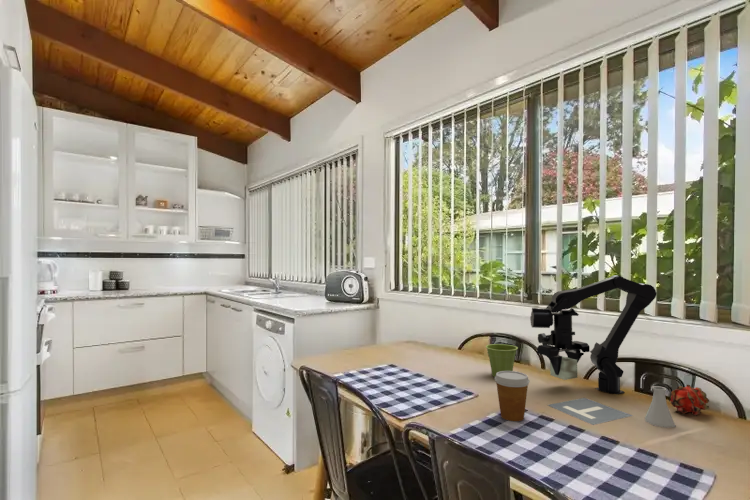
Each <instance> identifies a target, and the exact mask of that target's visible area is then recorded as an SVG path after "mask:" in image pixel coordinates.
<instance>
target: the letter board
mask: <svg viewBox="0 0 750 500" xmlns="http://www.w3.org/2000/svg"><path fill="white" fill-rule="evenodd" d="M547 406H548V407H550V408H553V409H554V410H556V411H559V412H562V413H564V414H566V415H569V416H571V417H574V418H576V419H578V420H581V421H583V422H585V423H587V424H590V425H593V426H594V425H598V424H603V423H607V422H611V421H617V420H620V419H625V418H630V417H634V415H633V414H630V413H627V412H625V411H622V410H619V409H617V408H613V407H610V406H608V405H606V404H603V403H600V402H598V401H595V400H592V399H591V398H590V399H589V398H587V397H581V398H575V399H571V400H565V401H561V402H556V403H550V404H547Z"/></svg>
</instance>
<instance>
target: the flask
mask: <svg viewBox="0 0 750 500" xmlns="http://www.w3.org/2000/svg"><path fill="white" fill-rule="evenodd" d="M651 389H652V390H653V395H652V400H651V403H650V404H649V408H648V410H647V412H646V415H645V417H644V421H645V422H646V423H648V424H650V425H651V426H655V427H660V428H666V429H667V428H677V427H676V425H675V422H674V421H675V420H674V419H673V416H672V414H671V411H670V409H669V407H668V403H667V399H666V392H667V388H666V387H663V386H659V385H654V386H653V385H652V388H651Z"/></svg>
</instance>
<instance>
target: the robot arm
mask: <svg viewBox="0 0 750 500" xmlns="http://www.w3.org/2000/svg"><path fill="white" fill-rule="evenodd" d="M616 289H618V290H620V291H623V292H625V293H627V295H626V298H625V305H624V307H623V308H622V311H621V313H620V314H619V315H618V318H617V319H616V321H615V323H614V324H613V326H612V328H611V329H610V331H609V333H608V335H607V336H606V338H605V340H603V342H601V343H598V342H595V344H594V346H593V348H592V349H591V350H590V345H589V344H588V343H587V342H583V341H578V340H574V341H573V336H575V335H576V331H573V316H574V317H575V316H577V317H579V315H580V314H579V313H578V312H577V311H576V310H575V309H574V308H573V307H575V306H577V305H578V304H580V303H581V302H582V301H584V300H586V299H589V298H592V297H595V296H598V295H600V294H601V295H602V294H604V293H607V292H609V291H613V290H616ZM657 293H658V292H657V290H656V288H655V287H654V286H652V285H651V284H648V283H641V282H635V281H632V280H630V279H627V278H625V277H623V276H621V275H611V276H610V277H607V278H604V279H601V280H599V281H597V282H596V281H595V282H593V283H590V284H587V285H585V286H582V287H581V286H580V287H579V288H573V289H565V290H559V291H556V292H554V293H553V294H552V297H551V301H550V302H549V303H548V304H547V306H546V308H537V307H532V308H531V313H530V318H529V319H530V326H531V328H535V329H539V328H540V329H550V327H552V326H553V329H551V331H550V334H546V333H538V335H537V341H538V343H539V344H541V345H538V346H537V347H536V350H537V351H536V354H537V355H538V354H539V355H542V356H545V357H547V358H548V359H549V363H550V362H551V364H552V367H553V369H554V372H555V374H556V375H559V372H560V367H561V362H562V356H563V355H560V353H562V352H564V353H565V354H566V357H568V358H572V359H575V360H577V364H578V363H579V361H580V360H581V358H582V356H584V354H585V353H589V352H590V353H591V354H590V361H591V363H592V364H593V365H594V366H595V367H596V369H597V370H598V371H599V372H598V378H597V382H598V384H597V387H595V388H594V389H595V390H597V391H600V392H603V393H606V394H609V395H616V396H617V395H622V394H625V392H626V391H624V390H621V378H622V377H623V375H624V370H623V369H622V368H620V366H619V365H617V361H618V359H619V350H620V347H621V345H622V344H623V342H624V341H625V339H626V338H627V337H626V336H627V335H628V333H629V332H630V330H631V328H632V327H633V325H634V323H635V322H636V321H637V319H638V317H639V314H640V313H641V312H642V311H643V310H644V309H647V307H648V306H649V305H651V303H652V302H653V301H654V300H655V299H656V298H657V297H656V296H657Z"/></svg>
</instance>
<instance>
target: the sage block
mask: <svg viewBox="0 0 750 500" xmlns="http://www.w3.org/2000/svg"><path fill="white" fill-rule="evenodd" d="M561 356H562V362H561V367H560V372H559V375H556V374H555V372H554V369H553V367H552V364H551V362H550V361H549V365H550V366H549V367H550V368H549V369H550V370H549V371H550V372H549V373H550V375H549V376H552V377H555V378H558V379H562V380H563V381H565V380H572V379H577V378H578V363H577V360H575V359H572V358H568V356H564V355H561Z"/></svg>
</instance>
